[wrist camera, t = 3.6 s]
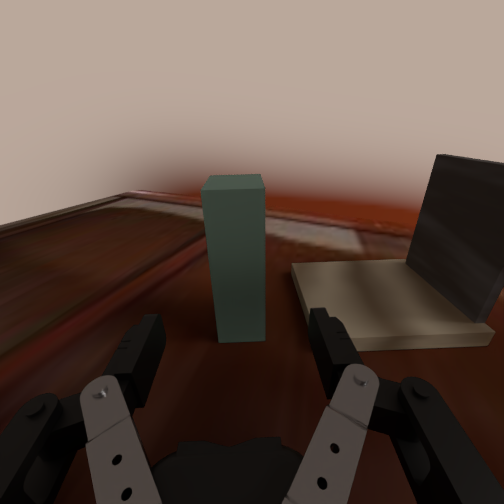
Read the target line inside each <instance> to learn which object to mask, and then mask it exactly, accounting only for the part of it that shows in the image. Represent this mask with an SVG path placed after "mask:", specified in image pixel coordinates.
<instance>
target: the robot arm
mask: <svg viewBox="0 0 504 504" xmlns="http://www.w3.org/2000/svg"><path fill="white" fill-rule="evenodd" d="M308 337H309V342H310V345H311V348H312V352H313V355H314V358H315V361H316V365H317V368H318V371H319V374H320V378H321V381H322V384H323V387H324V391H325V394H326V397H327V399H332V400H331V402H330V404H329V405H327V406H326V408H325V410H324V412H323V415H322V417H321V419H320V422H319V424H318V426H317V428H316V431H315V433H314V435H313V437H312V440H311V442H310V444H309V446H308V449H307V451H306V453H305V456H302V455H301V454H300V453H298V452H297V451H295V450H293V449H291V448H289V447H286V446H283V445H281V438H280V437H265V438H254V439H251V440H248V441H246V442H243V443H240V444H237V445H234V446H231V447H226V446H223V445H219V444H215V443H211V442H207V441H188V442H179V443H178V448H177V451H176V452H173V453H171V454H169V455H167V456H166V457H164V458H163V459H161V460H160V461H158V462H157V463H156V464H155V465H154V466H153V467H151V465H150V462H149V460H148V457H147V454H146V452H145V449H144V446H143V444H142V441H141V438H140V436H139V433H138V430H137V428H136V425H135V422H134V420H133V417H132V416H133V413H134V410H135V408H144V406H145V403H146V401H147V398H148V395H149V392H150V389H151V386H152V383H153V380H154V377H155V375H156V372H157V369H158V366H159V363H160V360H161V357H162V354H163V352H164V349H165V345H166V334H165V330H164V326H163V322H162V318H161V315H160V314H146V315H144V316H143V318H142V320H141V322H140V324H139V325H133V326H132V327H131V328H130V329H129V330H128V331H127V332H126V333H125V335H124V337H123V339H122V340H121V343H120V344H119V346H118V348H117V350H116V351H115V353H114V355H113V356H112V358H111V360H110V362H109V364H108V365H107V367H106V369H105V371H104V373H103V374H102V376H101V377H99V378H97V379H95V380H93V381H92V382H90V383H89V384H88V385H87V386H86V387H85V388H84V390H83V391H82V392H81V393H78V394H75V395H72V396H69V397H66V398H63V399H60V400H58V398H57V396H56V395H55V394H52V393H46V394H42V395H39V396H37V397H35V398H33V399H31V400H30V401H28V402H27V403H25V404H24V405H23V406H22V407H21V408H20V409H19V410H18V412H17V413H16V414H15V416H14V417H13V418H12V420H11V421H10V423H9V424H8V425H7V427H6V428H5V430H4V431H3V432H2V434H1V435H0V504H53V503H54V501H55V498H56V496H57V494H58V492H59V490H60V487H61V485H62V483H63V481H64V479H65V476H66V474H67V472H68V470H69V468H70V465H71V463H72V461H73V459H74V457H75V454H76V452H77V450H79V449H81V448H84V447H86V451H87V456H88V462H89V467H90V472H91V477H92V482H93V488H94V493H95V498H96V503H97V504H347V501H348V497H349V494H350V490H351V487H352V483H353V479H354V476H355V472H356V468H357V465H358V461H359V458H360V454H361V450H362V447H363V443H364V440H365V436H366V432H367V429H370V430H373V431H377V432H380V433H384V434H387V435H389V436H390V439H391V441H392V443H393V446H394V448H395V451H396V453H397V455H398V458H399V460H400V463H401V465H402V467H403V470H404V472H405V475H406V477H407V480H408V482H409V484H410V487H411V489H412V492H413V494H414V496H415V499H416V501H417V504H504V490H503V488H502V487H501V485H500V484H499V482H498V481H497V479H496V478H495V476H494V475H493V473H492V472H491V470H490V469H489V467H488V466H487V464H486V463H485V461H484V460H483V458H482V457H481V455H480V454H479V452H478V451H477V449H476V448H475V446H474V445H473V443H472V442H471V440H470V439H469V437H468V436H467V434H466V433H465V431H464V430H463V428H462V427H461V425H460V424H459V422H458V421H457V419H456V418H455V416H454V415H453V413H452V412H451V410H450V409H449V407H448V406H447V404H446V403H445V401H444V400H443V398H442V397H441V395H440V394H439V392H438V391H437V390H436V389H435V388H434V387H433V386H432V385H431V384H430V383H428V382H427V381H425V380H423V379H420V378H417V377H406V378H404V379H403V380H402V382H401V383H397V382H393V381H389V380H385V379H382V378H379V377H377V376H376V374H375V373H374V372H373V371H372V370H371V369H369V368H368V367H366V366H365V365H364V364H363V362H362V360H361V358H360V356H359V354H358V352H357V350H356V348H355V346H354V344H353V342H352V340H351V338H350V336H349V334H348V333H347V330H346V328H345V326H344V324H343V323H342V322H341V321H340V320H339V319H338V318H337V317H329V314H328V312H327V310H326V308H325V307H320V308H310V314H309V324H308Z"/></svg>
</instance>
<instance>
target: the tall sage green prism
mask: <svg viewBox="0 0 504 504" xmlns="http://www.w3.org/2000/svg"><path fill="white" fill-rule="evenodd" d="M201 198H202V207H203V215H204V223H205V232H206V240H207V249H208V257H209V266H210V274H211V283H212V291H213V300H214V308H215V317H216V325H217V333H218V342H219V343H229V342H253V341H265V187H264V183H263V180H262V178H261V175H260V174H248V175H215V176H210V177H209V178H208V180H207V181H206V183H205V184H204V186H203V188H202V189H201Z"/></svg>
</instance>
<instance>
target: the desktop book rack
mask: <svg viewBox="0 0 504 504" xmlns="http://www.w3.org/2000/svg"><path fill="white" fill-rule="evenodd" d="M291 275H292V278H293V281H294V284H295V287H296V290H297V293H298V297H299V300H300V303H301V306H302V309H303V312H304V316H305V319H306V322H307V325H308V324H309V314H310V308H320V307H325V308H326V310H327V312H328V314H329V317H337V318H338V319H339V320H340V321H341V322H342V323H343V324H344V326H345V328H346V330H347V333H348V334H349V336H350V338H351V340H352V342H353V344H354V346H355V348H356V350H357V351H377V350H400V349H424V348H448V347H472V346H488V345H489V343H490V341H491V339H492V337H493V336H494V334H495V331H494V330H492V329H491V328H490V327H489V326H487V325H486V324H485V321H486V319H487V317H488V316H489V314H490V312H491V310H492V308H493V306H494V304H495V302H496V300H497V298H498V296H499V294H500V292H501V290H502V289H503V287H504V163H500V162H493V161H487V160H480V159H473V158H466V157H460V156H453V155H446V154H440V155H439V154H437V155H436V159H435V162H434V165H433V169H432V172H431V176H430V180H429V183H428V186H427V190H426V193H425V197H424V200H423V204H422V207H421V210H420V214H419V218H418V221H417V224H416V228H415V231H414V235H413V238H412V242H411V245H410V248H409V252H408V255H407V259H396V260H368V261H341V262H314V263H292V270H291Z"/></svg>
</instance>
